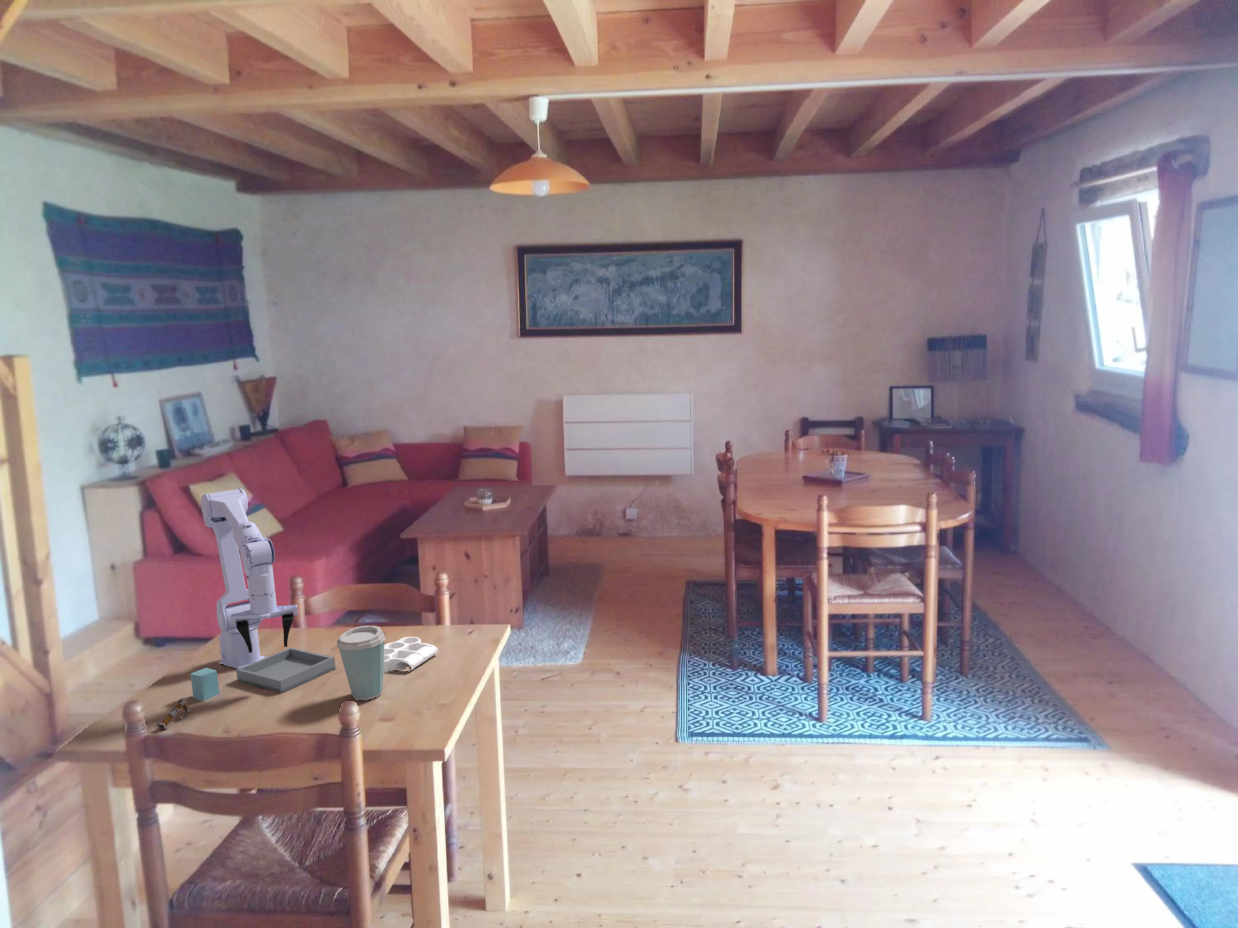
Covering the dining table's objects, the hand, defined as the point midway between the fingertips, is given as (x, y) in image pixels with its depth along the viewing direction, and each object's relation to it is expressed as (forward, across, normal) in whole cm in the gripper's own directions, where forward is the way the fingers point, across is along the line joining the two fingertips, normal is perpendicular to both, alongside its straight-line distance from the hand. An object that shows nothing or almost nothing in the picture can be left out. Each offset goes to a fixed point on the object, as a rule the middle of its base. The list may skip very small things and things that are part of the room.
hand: (268, 648), depth 215 cm
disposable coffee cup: (+10, +20, -15) cm, 27 cm away
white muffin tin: (+10, +30, +3) cm, 32 cm away
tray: (+10, +3, +7) cm, 12 cm away
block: (+10, -14, +2) cm, 18 cm away
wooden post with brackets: (+10, -20, -10) cm, 25 cm away
